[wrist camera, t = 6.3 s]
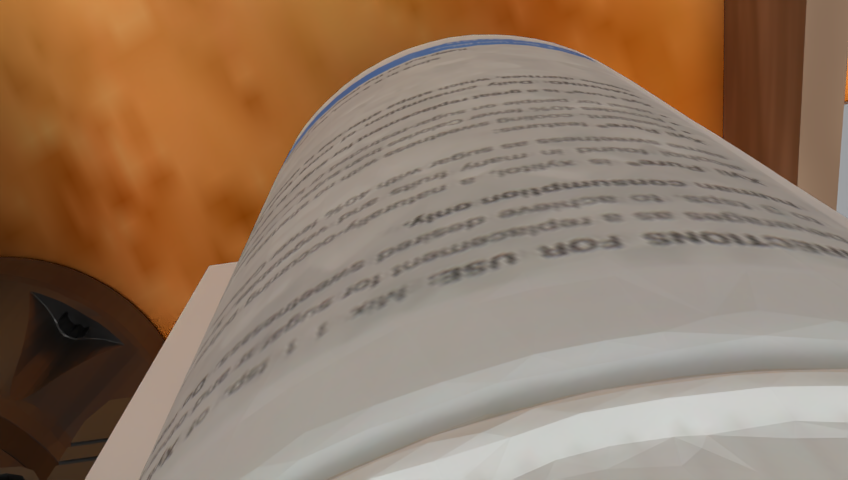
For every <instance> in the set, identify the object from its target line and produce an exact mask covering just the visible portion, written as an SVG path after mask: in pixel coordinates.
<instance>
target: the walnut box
mask: <svg viewBox="0 0 848 480" xmlns="http://www.w3.org/2000/svg"><path fill="white" fill-rule="evenodd" d="M847 58H848V0H725V9H724V111H723V139H724V140H726V141H727V142H729V143H730V144H732V145H733V146H735V147H737V148H738V149H740V150H741V151H743V152H744V153H746V154H748V155H749V156H751V157H752V158H754V159H755V160H757V161H759V162H760V163H762V164H763V165H765V166H766V167H768V168H769V169H771V170H772V171H774V172H775V173H777V174H778V175H780V176H782V177H783V178H785V179H786V180H788V181H789V182H791V183H792V184H794V185H795V186H797V187H799V188H800V189H802V190H803V191H805V192H806V193H808V194H810V195H811V196H813V197H814V198H816V199H817V200H819V201H821V202H822V203H824V204H825V205H827V206H828V207H830V208H832V209H833V210H835V211H836V210H837V196H838V182H839V168H840V154H841V140H842V127H843V113H844V99H845V85H846V71H847Z"/></svg>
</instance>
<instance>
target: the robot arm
mask: <svg viewBox="0 0 848 480" xmlns="http://www.w3.org/2000/svg"><path fill="white" fill-rule="evenodd" d="M237 263H238V262H232V263H225V264H218V265H211V266H209V267H208V269H207V270H206V272H205V274H204V276H203V277H202V279H201V281H200V282H199V284H198V286H197V288H196V289H195V291H194V293H193V294H192V296H191V298H190V300H189V301H188V303H187V305H186V306H185V308H184V310H183V312H182V313H181V315H180V317H179V319H178V320H177V322H176V324H175V325H174V327H173V329H172V331H171V332H170V334H169V336H168V337H167V339H166V341H164V339H163V338H162V336H161V335H160V334H159V332H158V331H157V330H156V328H155V327H154V326H153V325H152V324H151V322H150V321H149V320H148V319H147V318H146V317H145V316H144V315H143V314H142V313H141V312H140V311H139V310H138V309H137V308H136V307H135V306H134V305H132V304H131V303H130V302H129V301H128V300H126V299H125V298H124V297H122V296H121V295H120V294H118V293H117V292H115V291H114V290H112V289H111V288H109V287H107V286H106V285H104V284H102V283H101V282H99V281H97V280H95V279H93V278H91V277H89V276H87V275H85V274H82V273H80V272H78V271H75V270H72V269H69V268H67V267H64V266H60V265H57V264H53V263H49V262H45V261H40V260H34V259H28V258H17V257H0V480H139V478H140V476H141V473H142V471H143V469H144V467H145V465H146V462H147V460H148V458H149V456H150V454H151V451H152V449H153V447H154V445H155V443H156V440H157V438H158V436H159V434H160V432H161V430H162V427H163V425H164V423H165V421H166V419H167V416H168V414H169V412H170V410H171V408H172V405H173V403H174V401H175V399H176V397H177V394H178V392H179V390H180V388H181V386H182V383H183V381H184V379H185V377H186V375H187V372H188V370H189V368H190V366H191V364H192V361H193V359H194V357H195V355H196V353H197V350H198V348H199V346H200V344H201V342H202V339H203V337H204V335H205V333H206V331H207V329H208V326H209V324H210V322H211V320H212V318H213V315H214V313H215V311H216V309H217V307H218V305H219V302H220V300H221V298H222V296H223V294H224V291H225V289H226V287H227V285H228V283H229V281H230V278H231V276H232V274H233V272H234V270H235V267H236V265H237Z"/></svg>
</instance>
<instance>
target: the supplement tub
mask: <svg viewBox="0 0 848 480" xmlns="http://www.w3.org/2000/svg"><path fill="white" fill-rule="evenodd" d="M139 480H848V219H847V218H846V217H844V216H843V215H841V214H839V213H838V212H836V211H835V210H833V209H832V208H830V207H828V206H827V205H825V204H824V203H822V202H821V201H819V200H817V199H816V198H814V197H813V196H811V195H810V194H808V193H806V192H805V191H803V190H802V189H800V188H799V187H797V186H795V185H794V184H792V183H791V182H789V181H788V180H786V179H785V178H783V177H782V176H780V175H778V174H777V173H775V172H774V171H772V170H771V169H769V168H768V167H766V166H765V165H763V164H762V163H760V162H759V161H757V160H755V159H754V158H752V157H751V156H749V155H748V154H746V153H744V152H743V151H741V150H740V149H738V148H737V147H735V146H733V145H732V144H730V143H729V142H727V141H726V140H724V139H722V138H721V137H719V136H718V135H716V134H715V133H713V132H711V131H710V130H708V129H706V128H705V127H703V126H701V125H700V124H698V123H696V122H695V121H693V120H691V119H690V118H688V117H687V116H685V115H684V114H682V113H680V112H679V111H677V110H676V109H674V108H673V107H671V106H670V105H668V104H667V103H665V102H664V101H662V100H661V99H659V98H658V97H656V96H654V95H653V94H651V93H650V92H648V91H647V90H645V89H644V88H642V87H641V86H639V85H637V84H636V83H634V82H633V81H631V80H629V79H628V78H626V77H624V76H623V75H621V74H619V73H618V72H616V71H614V70H613V69H611V68H609V67H607V66H606V65H604V64H602V63H601V62H599V61H597V60H595V59H593V58H591V57H589V56H587V55H585V54H582V53H580V52H578V51H576V50H573V49H570V48H567V47H564V46H561V45H558V44H555V43H552V42H547V41H543V40H539V39H534V38H527V37H519V36H511V35H496V34H495V35H466V36H457V37H449V38H445V39H441V40H437V41H432V42H428V43H425V44H422V45H419V46H416V47H413V48H409V49H406V50H404V51H402V52H399V53H397V54H395V55H393V56H391V57H389V58H386V59H385V60H383V61H381V62H379V63H377V64H376V65H374V66H372V67H370V68H368V69H367V70H365V71H363V72H362V73H361V74H359V75H358V76H356V77H355V78H354V79H352V80H351V81H349V82H348V83H347V84H345V85H344V86H343V87H342V88H341V89H339V90H338V91H337V92H336V93H335V94H334V95H333V96H332V97H331V98H330V99H328V100H327V101H326V102H325V103H324V104H323V106H322V107H321V108H320V109H319V110H318V111H317V112H316V113H315V114H314V115H313V117H312V118H311V119H310V120H309V121H308V123H307V124H306V125H305V126H304V128H303V129H302V131H301V132H300V134H299V135H298V137H297V139H296V141H295V143H294V145H293V147H292V148H291V150H290V152H289V154H288V156H287V158H286V160H285V161H284V163H283V165H282V167H281V169H280V171H279V173H278V175H277V177H276V179H275V181H274V184H273V186H272V188H271V190H270V193H269V195H268V197H267V199H266V201H265V204H264V206H263V208H262V210H261V212H260V215H259V217H258V219H257V221H256V223H255V226H254V228H253V230H252V232H251V234H250V237H249V239H248V241H247V243H246V246H245V248H244V250H243V252H242V254H241V257H240V259H239V261H238V263H237V265H236V267H235V270H234V272H233V274H232V276H231V278H230V281H229V283H228V285H227V287H226V289H225V291H224V294H223V296H222V298H221V300H220V302H219V305H218V307H217V309H216V311H215V313H214V315H213V318H212V320H211V322H210V324H209V326H208V329H207V331H206V333H205V335H204V337H203V339H202V342H201V344H200V346H199V348H198V350H197V353H196V355H195V357H194V359H193V361H192V364H191V366H190V368H189V370H188V372H187V375H186V377H185V379H184V381H183V383H182V386H181V388H180V390H179V392H178V394H177V397H176V399H175V401H174V403H173V405H172V408H171V410H170V412H169V414H168V416H167V419H166V421H165V423H164V425H163V427H162V430H161V432H160V434H159V436H158V438H157V440H156V443H155V445H154V447H153V449H152V451H151V454H150V456H149V458H148V460H147V462H146V465H145V467H144V469H143V471H142V473H141V476H140V478H139Z"/></svg>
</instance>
